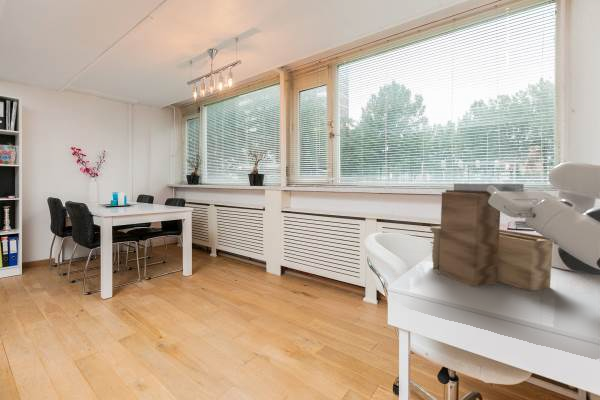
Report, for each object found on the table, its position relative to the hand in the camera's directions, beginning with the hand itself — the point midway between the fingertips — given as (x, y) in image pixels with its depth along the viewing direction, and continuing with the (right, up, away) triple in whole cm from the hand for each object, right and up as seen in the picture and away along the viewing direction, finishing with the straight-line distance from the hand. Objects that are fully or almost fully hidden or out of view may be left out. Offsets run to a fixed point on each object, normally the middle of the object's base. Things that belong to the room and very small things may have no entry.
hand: (500, 187), depth 84 cm
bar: (-2, -2, +4) cm, 5 cm away
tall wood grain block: (-4, -29, +11) cm, 31 cm away
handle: (-8, -29, +22) cm, 37 cm away
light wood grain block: (+10, -29, +8) cm, 32 cm away
